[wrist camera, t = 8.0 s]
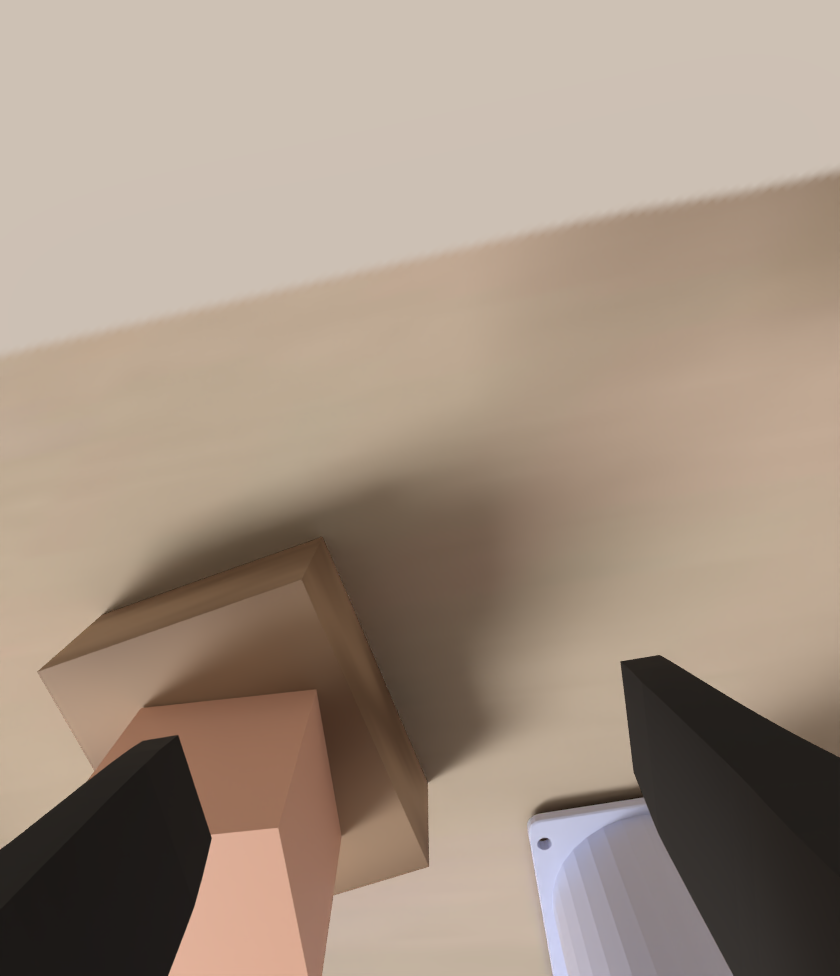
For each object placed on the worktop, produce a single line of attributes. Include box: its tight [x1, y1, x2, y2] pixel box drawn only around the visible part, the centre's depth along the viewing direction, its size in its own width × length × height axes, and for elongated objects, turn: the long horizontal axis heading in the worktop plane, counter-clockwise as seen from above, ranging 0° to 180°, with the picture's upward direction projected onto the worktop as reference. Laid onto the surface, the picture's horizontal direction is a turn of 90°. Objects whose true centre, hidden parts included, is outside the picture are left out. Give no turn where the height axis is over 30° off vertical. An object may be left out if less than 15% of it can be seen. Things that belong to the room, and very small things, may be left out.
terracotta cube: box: [88, 689, 342, 976], centre depth 15 cm, size 5×5×5 cm
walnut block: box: [38, 537, 429, 895], centre depth 20 cm, size 10×8×4 cm
